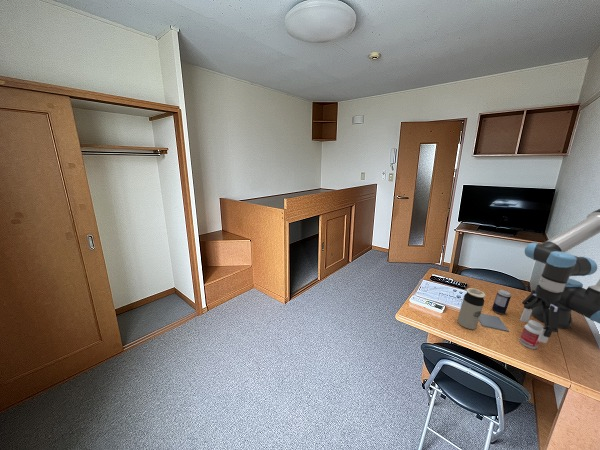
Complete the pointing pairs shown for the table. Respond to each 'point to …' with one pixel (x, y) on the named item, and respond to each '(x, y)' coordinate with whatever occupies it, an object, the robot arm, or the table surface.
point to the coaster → (492, 322)
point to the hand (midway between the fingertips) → (532, 330)
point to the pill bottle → (531, 334)
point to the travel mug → (471, 308)
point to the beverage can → (501, 301)
